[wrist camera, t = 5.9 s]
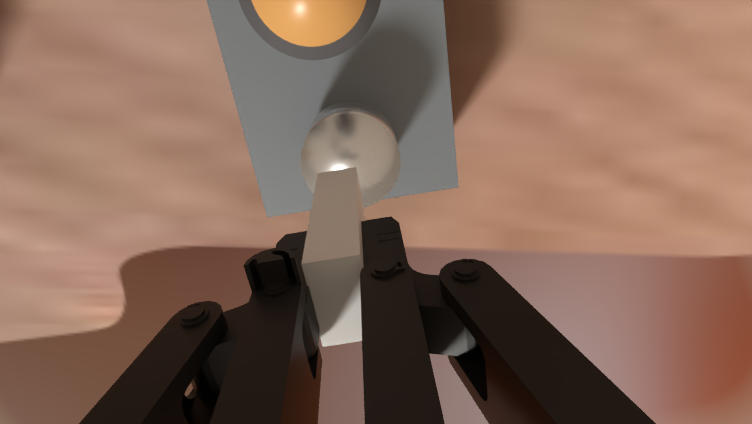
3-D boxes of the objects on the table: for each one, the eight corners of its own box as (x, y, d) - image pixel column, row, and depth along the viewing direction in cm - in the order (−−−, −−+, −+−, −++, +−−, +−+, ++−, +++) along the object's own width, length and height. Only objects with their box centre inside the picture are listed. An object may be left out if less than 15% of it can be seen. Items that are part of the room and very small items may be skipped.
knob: (310, 83, 32) (290, 122, 22) (380, 72, 32) (393, 105, 22) (324, 151, 34) (311, 216, 24) (390, 140, 34) (406, 201, 24)
